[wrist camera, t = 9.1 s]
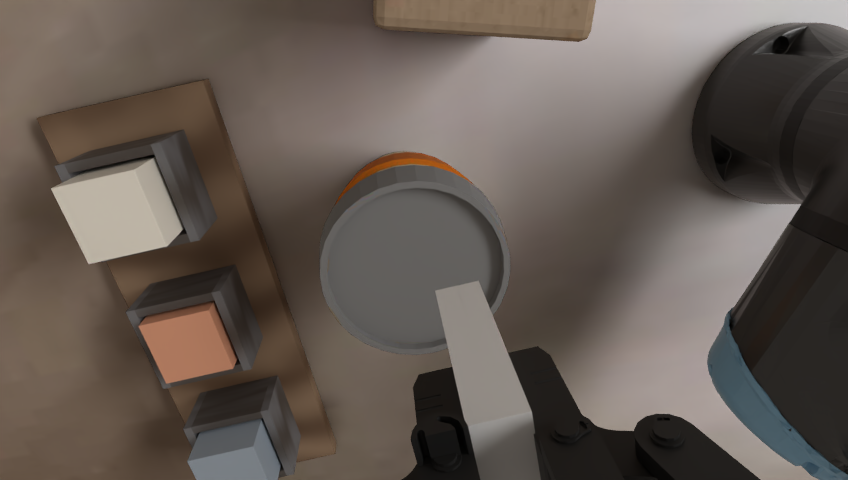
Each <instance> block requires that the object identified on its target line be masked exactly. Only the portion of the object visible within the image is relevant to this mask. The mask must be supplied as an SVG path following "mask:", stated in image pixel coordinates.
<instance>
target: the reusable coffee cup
mask: <svg viewBox="0 0 848 480" xmlns="http://www.w3.org/2000/svg"><path fill="white" fill-rule="evenodd" d="M319 266H320V280H321V286H322V292H323V295H324V297H325V300H326V302H327V304H328V307H329V309H330V310H331V312H332V313H333V315H334V316H335V318H336V319H337V321H338V322H339V323H340V324H341V325H342V326H343V327H344V328H345V329H346V330H347V331H348V332H349V333H350V334H351V335H353V336H354V337H356V338H358V339H359V340H361V341H362V342H364V343H365V344H368V345H370V346H372V347H375V348H377V349H380V350H383V351H387V352H392V353H396V354H411V355H418V354H426V353H434V352H437V351H440V350H444V349H447V348H448V346H447V341H446V337H445V332H444V328H443V323H442V319H441V315H440V310H439V306H438V301H437V297H436V292H435V291H436V290H440V289H444V288H449V287H453V286H458V285H462V284H466V283H471V282H475V281H479V283H480V286H481V288H482V290H483V293H484V295H485V298H486V300H487V303H488V305H489V308H490V310H491V313H492V315H494V313H495V312H496V310H497V309H498V307H499V306H500V304H501V302H502V300H503V297H504V295H505V292H506V290H507V287H508V282H509V276H510V252H509V248H508V244H507V240H506V237H505V233H504V230H503V227H502V224H501V221H500V219H499V217H498V215H497V213H496V211H495V209H494V207H493V205H492V204H491V203H490V201H489V200H488V199H487V198H486V196H485V195H484V194H483V192H481V191H480V190H479V189H478V188H477V187H475V186H474V185H473V184H472V182H470V181H469V180H468V179H467V178H466V177H464V176H463V175H462V174H461V173H460V172H458V171H457V170H455V169H454V168H452V167H451V166H450V165H448V164H447V163H445V162H443V161H441V160H439V159H437V158H435V157H432V156H429V155H425V154H422V153H416V152H408V151H401V152H393V153H390V154H387V155H384V156H382V157H380V158H378V159H376V160H375V161H373V162H371V163H369V164H368V165H366V166H365V167H364V168H363V169H361V170H360V171H359V172H358V173H357V174H356V175H355V176H354V177H353V179H352V180H351V181H350V182H349V184H348V185H347V186H346V188H345V189H344V191H343V192H342V193H341V195H340V196H339V198H338V200H337V202H336V204H335V206H334V207H333V209H332V211H331V212H330V214H329V216H328V218H327V220H326V222H325V224H324V228H323V232H322V236H321V239H320V253H319Z"/></svg>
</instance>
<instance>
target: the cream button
mask: <svg viewBox="0 0 848 480" xmlns="http://www.w3.org/2000/svg"><path fill="white" fill-rule="evenodd" d="M51 190H52V192H53V194H54V196H55V198H56V200H57V202H58V204H59V206H60V208H61V210H62V212H63V214H64V216H65V218H66V220H67V222H68V224H69V226H70V228H71V230H72V232H73V234H74V236H75V238H76V240H77V242H78V244H79V246H80V248H81V250H82V252H83V254H84V256H85V258H86V260H87V262H88V264H91V263H96V262H100V261H105V260H109V259H114V258H118V257H122V256H127V255H131V254H136V253H140V252H144V251H149V250H153V249H158V248H162V247H167V246H168V245H169V244H170V243H171V242H172V241H173V240H174V239H175V238H176V237H177V236H178V234H179V233H180V232H181V231H182V230H183V229H184V228H185V227H184V225H183V223H182V220H181V218H180V215H179V213H178V210H177V208H176V206H175V203H174V201H173V198H172V196H171V193H170V191H169V188H168V186H167V184H166V181H165V179H164V176H163V174H162V171H161V169H160V167H159V164H158V162H157V159H156V157H155V155H150V156H146V157H142V158H137V159H133V160H128V161H124V162H119V163H115V164H111V165H106V166H102V167H97V168H93V169H89V170H87V171H85V172H83V173H81V174H79V175H77V176H75V177H73V178H71V179H69V180H67V181H65V182H63V183H61V184H59V185H57V186H55V187H53V188H51Z"/></svg>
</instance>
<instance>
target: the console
mask: <svg viewBox="0 0 848 480" xmlns="http://www.w3.org/2000/svg"><path fill="white" fill-rule="evenodd" d="M37 120H38V122H39V124H40V126H41V128H42V130H43V133H44V135H45V137H46V139H47V141H48V143H49V145H50V147H51V149H52V151H53V153H54V155H55V157H56V159H57V161H58V163H59V164H58V165H56V166H54V167H55V169H56V171H57V173H58V175H59V177H60V179H61V181H62V183H63V182H65V181H67V180H69V179H71V178H73V177H75V176H77V175H79V174H81V173H83V172H85V171H87V170H89V169H93V168H97V167H102V166H106V165H111V164H115V163H119V162H124V161H128V160H133V159H137V158H142V157H146V156H150V155H155V157H156V159H157V162H158V164H159V167H160V169H161V171H162V174H163V176H164V179H165V181H166V184H167V186H168V188H169V191H170V193H171V196H172V198H173V201H174V203H175V206H176V208H177V210H178V213H179V215H180V218H181V220H182V223H183V225H184V227H185V228H184V229H183V230H182V231H181V232H180V233H179V234H178V236H177V237H176V238H175V239H174V240H173V241H172V242H171V243H170V244H169V245H168V246H167V247H162V248H158V249H153V250H149V251H144V252H140V253H136V254H131V255H127V256H122V257H118V258H114V259H109V260H105V261H101V262H107V264H108V266H109V268H110V271H111V273H112V275H113V277H114V279H115V281H116V283H117V285H118V287H119V289H120V291H121V293H122V295H123V297H124V299H125V301H126V303H127V306H128V308H129V309H128V310H127V311H126V314H127V316H128V318H129V320H130V322H131V324H132V326H133V328H134V330H135V332H136V334H137V336H138V338H139V340H140V342H141V345H142V347H143V349H144V351H145V353H146V355H147V357H148V359H149V361H150V363H151V365H152V367H153V369H154V371H155V373H156V375H157V377H158V379H159V381H160V383H161V385H162V387H163V389H166V388H168V390H169V392H170V394H171V396H172V398H173V400H174V402H175V404H176V406H177V409H178V411H179V413H180V415H181V417H182V419H183V421H184V423H185V426H184V428H183V430H184V432H185V434H186V436H187V438H188V440H189V443H190V445H191V447H192V449H193V447H194V445H195V442H196V440H197V438H198V435H199V433H200V432H203V431H208V430H212V429H216V428H221V427H225V426H230V425H234V424H239V423H243V422H247V421H252V420H256V419H261V418H263V420H264V422H265V424H266V427H267V429H268V432H269V434H270V437H271V439H272V441H273V444H274V446H275V449H276V451H277V454H278V456H279V458H280V461H281V467H280V471H279V476H278V478H279V477H283V476H288V475H292V474H294V471H295V466H296V462H300V461H305V460H309V459H313V458H318V457H322V456H327V455H331V454H335V452H336V441H335V438H334V435H333V432H332V429H331V426H330V424H329V421H328V418H327V415H326V412H325V409H324V406H323V404H322V401H321V398H320V395H319V392H318V389H317V387H316V384H315V381H314V378H313V375H312V372H311V369H310V367H309V364H308V361H307V358H306V355H305V352H304V350H303V347H302V344H301V341H300V338H299V335H298V333H297V330H296V327H295V324H294V321H293V318H292V315H291V313H290V310H289V307H288V304H287V301H286V298H285V296H284V293H283V290H282V287H281V284H280V281H279V278H278V276H277V273H276V270H275V267H274V264H273V261H272V259H271V256H270V253H269V250H268V247H267V244H266V241H265V239H264V236H263V233H262V230H261V227H260V224H259V222H258V219H257V216H256V213H255V210H254V207H253V205H252V202H251V199H250V196H249V193H248V190H247V187H246V185H245V182H244V179H243V176H242V173H241V170H240V168H239V165H238V162H237V159H236V156H235V153H234V150H233V148H232V145H231V142H230V139H229V136H228V133H227V131H226V128H225V125H224V122H223V119H222V116H221V113H220V111H219V108H218V105H217V102H216V99H215V96H214V94H213V91H212V88H211V85H210V82H209V79H205V80H201V81H196V82H192V83H187V84H183V85H179V86H174V87H170V88H165V89H161V90H156V91H152V92H148V93H143V94H139V95H134V96H130V97H125V98H121V99H117V100H112V101H108V102H103V103H99V104H94V105H90V106H86V107H81V108H77V109H72V110H68V111H63V112H59V113H55V114H50V115H46V116H42V117H39V118H37ZM214 300H215V303H216V305H217V308H218V310H219V313H220V315H221V317H222V320H223V322H224V325H225V327H226V330H227V332H228V334H229V337H230V339H231V342H232V344H233V347H234V349H235V351H236V354H237V356H238V358H237V361H236V363H235V366H234V368H233V369H229V370H225V371H220V372H216V373H212V374H207V375H203V376H198V377H194V378H190V379H185V380H181V381H176V382H172V383H167V384H166V382H165V380H164V378H163V376H162V374H161V372H160V370H159V368H158V366H157V363H156V361H155V359H154V357H153V355H152V353H151V351H150V349H149V347H148V345H147V343H146V341H145V339H144V337H143V335H142V333H141V330H140V328H139V325H140V323H141V322H142V321H143V320H144V318H145V317H146V316H148V315H152V314H156V313H161V312H165V311H170V310H174V309H178V308H183V307H187V306H192V305H196V304H201V303H205V302H209V301H214Z"/></svg>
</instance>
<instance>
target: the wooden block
mask: <svg viewBox="0 0 848 480" xmlns="http://www.w3.org/2000/svg"><path fill="white" fill-rule="evenodd" d="M595 2H596V0H373V19H374V22H375V25H376V26H377V27H379V28H382V29H385V30H401V31H417V32H432V33H448V34H464V35H480V36H496V37H512V38H528V39H544V40H560V41H576V42H579V41H582V40H585V39H587V38H588V36H589V33H590V32H591V27H592V21H593V15H594V9H595Z"/></svg>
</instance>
